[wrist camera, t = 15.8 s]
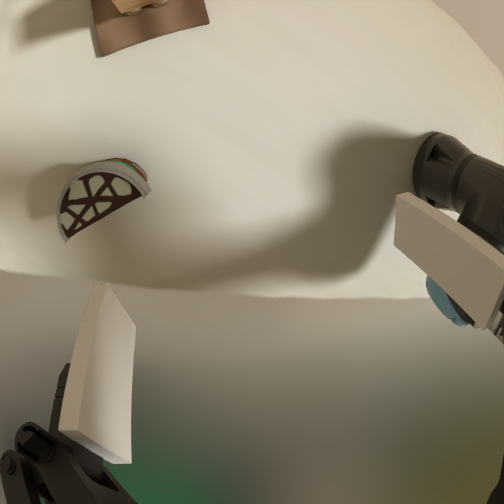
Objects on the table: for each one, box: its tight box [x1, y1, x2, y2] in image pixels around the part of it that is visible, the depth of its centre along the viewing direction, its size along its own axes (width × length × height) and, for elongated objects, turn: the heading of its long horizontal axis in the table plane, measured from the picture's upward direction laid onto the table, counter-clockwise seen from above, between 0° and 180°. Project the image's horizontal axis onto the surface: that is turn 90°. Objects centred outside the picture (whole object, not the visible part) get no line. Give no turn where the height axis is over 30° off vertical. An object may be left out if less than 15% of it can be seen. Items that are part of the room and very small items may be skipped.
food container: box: [57, 158, 151, 243], centre depth 30 cm, size 12×6×10 cm, turn 110°
